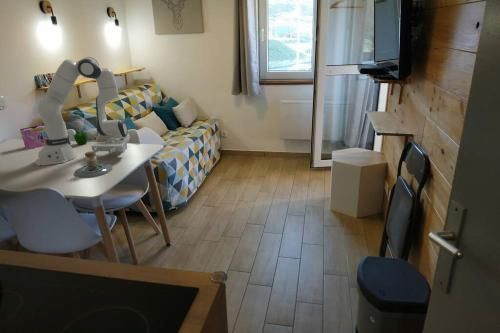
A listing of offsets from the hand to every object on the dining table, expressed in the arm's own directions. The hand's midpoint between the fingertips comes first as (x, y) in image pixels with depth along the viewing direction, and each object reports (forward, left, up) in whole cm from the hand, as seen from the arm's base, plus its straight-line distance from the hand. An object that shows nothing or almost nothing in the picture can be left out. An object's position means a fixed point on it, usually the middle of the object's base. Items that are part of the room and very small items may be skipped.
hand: (102, 151), depth 208 cm
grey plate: (-7, -10, -8) cm, 14 cm away
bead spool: (-7, -10, -7) cm, 14 cm away
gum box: (-36, +65, -8) cm, 75 cm away
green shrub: (-11, +51, -8) cm, 53 cm away
